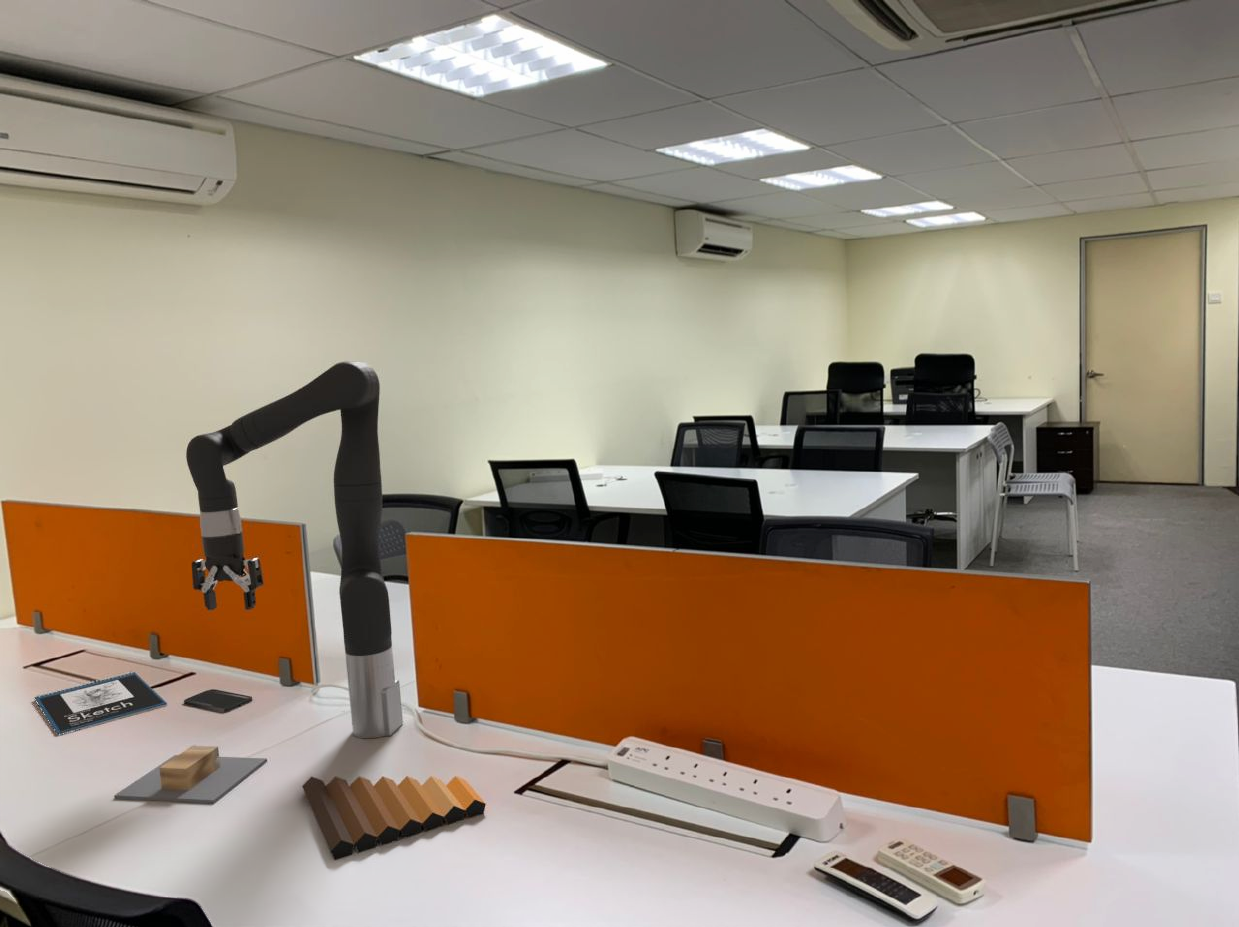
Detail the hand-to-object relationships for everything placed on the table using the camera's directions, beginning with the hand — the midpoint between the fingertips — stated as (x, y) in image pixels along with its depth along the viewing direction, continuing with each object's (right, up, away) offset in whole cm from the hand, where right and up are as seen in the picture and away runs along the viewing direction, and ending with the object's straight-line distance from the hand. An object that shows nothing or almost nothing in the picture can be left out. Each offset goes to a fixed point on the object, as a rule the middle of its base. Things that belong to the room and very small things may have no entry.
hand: (231, 609), depth 181 cm
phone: (-13, -25, +22) cm, 36 cm away
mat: (0, -29, -17) cm, 33 cm away
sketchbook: (-42, -27, +26) cm, 56 cm away
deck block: (0, -28, -17) cm, 33 cm away
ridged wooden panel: (+40, -29, -30) cm, 58 cm away
